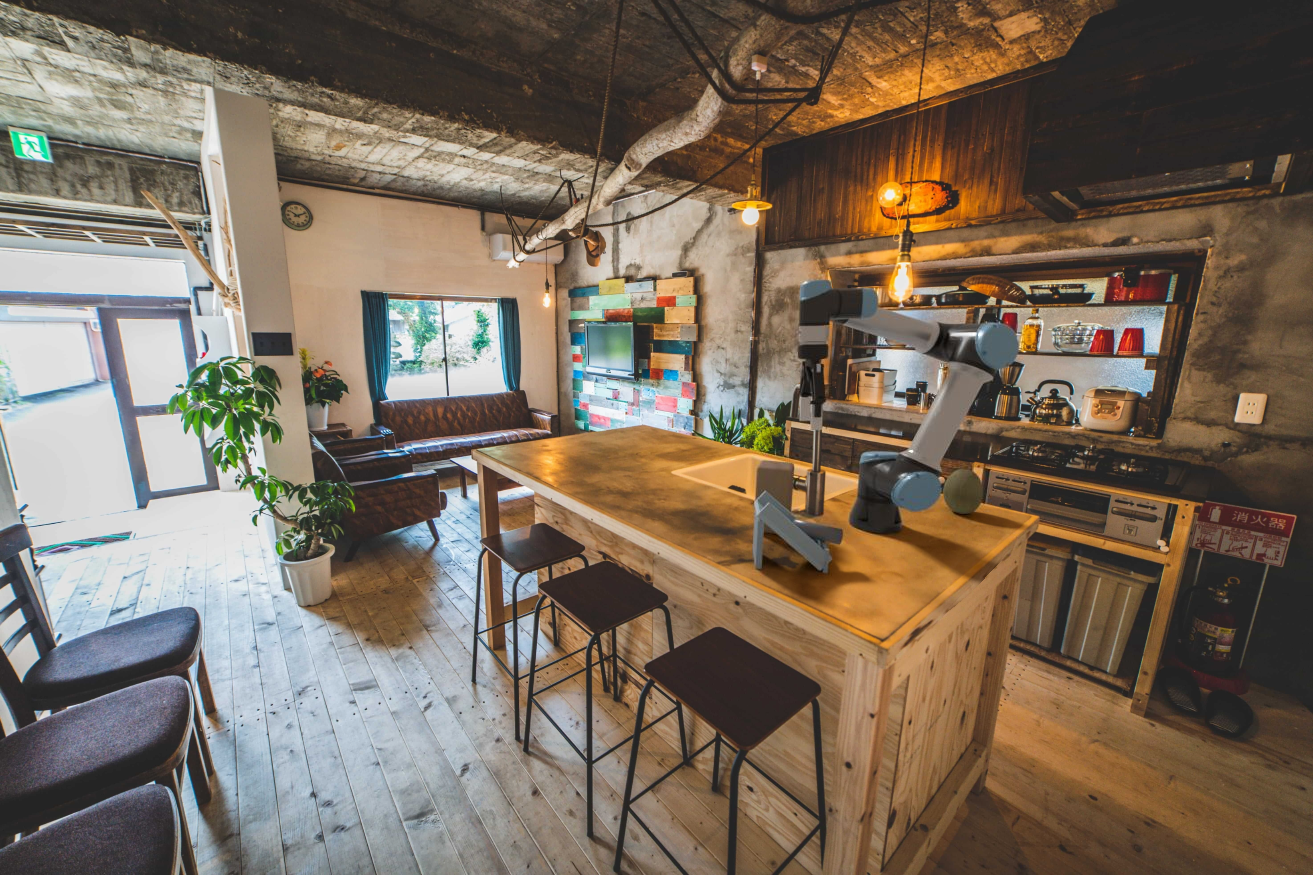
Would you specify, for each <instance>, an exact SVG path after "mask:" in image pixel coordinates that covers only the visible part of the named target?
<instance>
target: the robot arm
mask: <svg viewBox="0 0 1313 875" xmlns="http://www.w3.org/2000/svg"><path fill="white" fill-rule="evenodd" d="M798 304H799V305H798V309H799V310H798V311H799V312H798V330H796V331H795V333H796V335H798V341H797V342H799V343H800V344H798V346H797V358H798V359H799V360H802V362H801V373H800V381H799V387H798V388H799V389H798V394H799V396H800V400H799V422H810V428H809V430H810V431H823V414H824V403H826V402H827V399H826V398H827V397H826V387H825V374H824V373H825V372H824V370H825V369H824V368H825V364H824V363H821V360H826V359H828V358H829V348H830V346H829V344H828V343H827V342H829V341H830V328H831V327H830V322H831V323H834V324H837V325H841V326H845V327H849V328H851V329H855V330H857V331H858V330H859V331H861V332H865V333H867V334H870V335H873V336H876V337H880V338H883V339H887V340H890V341H893V342H896V343H899V344H902V345H905V346H907V347H908V346H909V347H912V348H914V349H915V351H916V352H917V353H919V354H922V355H926V356H927V357H930V358H933V359H936V360H939V361H941V362H944V363H946V365H947V367H948V370H949V372H948V374H947V376H946V378H945V379H944V381H943V383H942V385H941V387H940V389H939V390H938V393H937V394H936V396H935V399H934V400H933V402H932V404H931V405H930V408H929V410H928V411H927V413H926V415H925V417H924V419H923V420H922V422H921V424H920V426H919V428H918V430H917V432H916V434H915V435H914V438H913V439H912V441H911V443H910V445H909V447H908V448H907V449H906V450H904V451H901V452H894V451H883V450H882V451H878V450H877V451H875V450H874V451H866V452H863V453H862V454H861V456H860V460H859V463H858V464H859V467H858V468H859V469H858V482H857V495H856V500H855V501H854V503H853V506H852V508H851V510H850V512H849V517H848V523H849V524H850V525H851V526H853V527H854V528H857V529H859V530H862V531H866V532H869V533H874V534H875V533H877V534H895V533H898V532H901V530H902V528H903V520H902V519H903V518H902V515H901V511H900V509H904V510H906V511H909V512H915V513H917V512H922V511H924V510H927V509H929V508H930V509H931V507H933V506H934V505H935V504H936V503H937V502H938V501H939V499H940V497H941V494H942V492H943V490H942V489H943V488H942V487H941V486H942V482H941V480H940V479H939V478H940V477H941V475H942V473H943V470H942V468H941V462H942V459H943V458H944V456H945V454H946V452H947V451H948V449H949V447H950V445H951V443H952V441H953V440H954V438H955V435H956V434H957V432H958V430H959V428H960V427H961V425H962V423H963V421H964V419H965V418H966V416H967V414H968V412H969V410H970V409H971V406H972V405H973V403H974V401H975V399H976V397H977V396H978V393H979V391H980V390H981V388H982V386H983V384H985V383H987V382H991V381H993V379H994V377H995V376H996V374H997V372H998V371H999V370H1002V369H1005V368H1007V367H1009V366H1011V365H1012V364H1013V363H1014V362H1015V361H1016V359H1017V357H1018V354H1019V349H1020V344H1019V343H1020V342H1019V340H1018V335H1017V333H1016V332H1015V330H1014V329H1013V328H1012V327H1010V326H1009V325H1008V324H1006V323H1001V322H992V321H988V322H984V323H983V322H982V323H981V322H977V323H946V322H939V321H935V320H928V321H925V320H921V319H919V318H918V319H917V318H914V317H911V316H908V315H905V314H903V313H898V312H896V311H892V310H890V309H889V310H888V309H886V308H883V307H879V296H878V293H877V291H876V290H875V289H873V288H872V287H871V288H870V287H869V288H866V287H865V288H864V287H858V288H857V287H856V288H855V287H852V288H834V287H833V285H832V281H831V280H828V279H812V280H805V281H803V282H802V283H801V285H800V288H799V297H798Z"/></svg>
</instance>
